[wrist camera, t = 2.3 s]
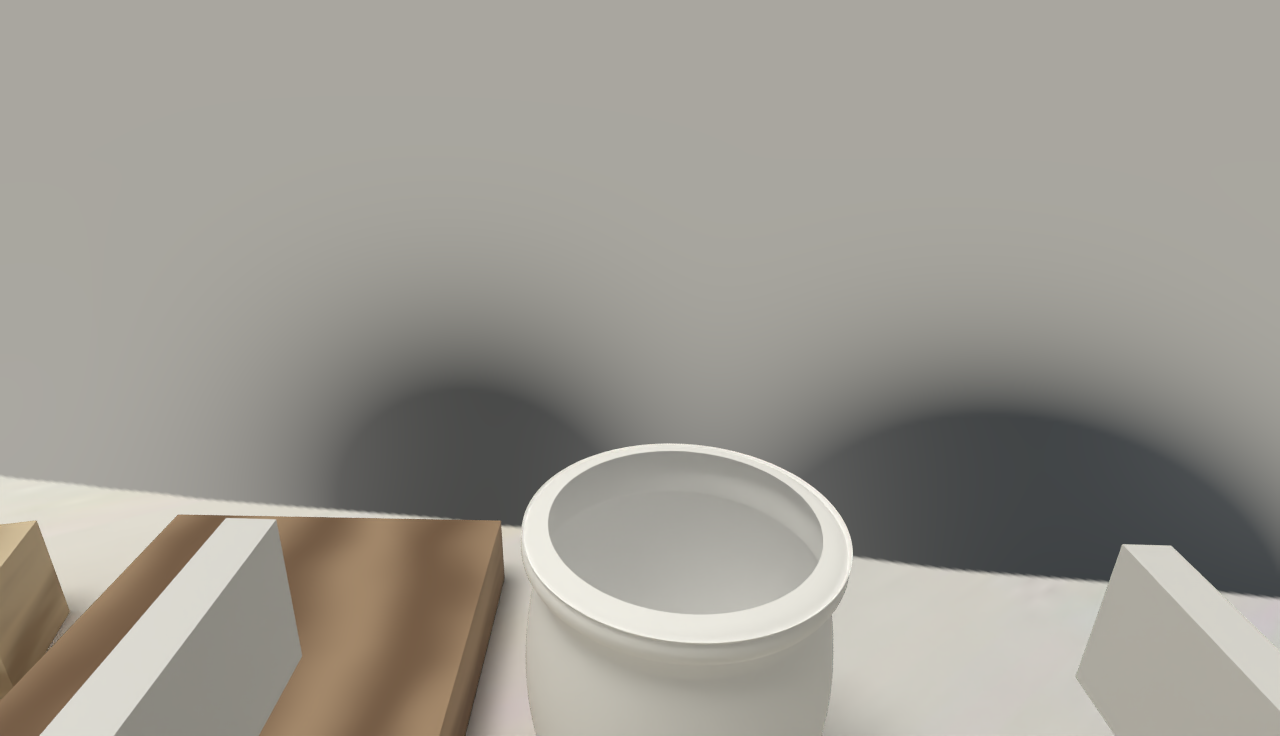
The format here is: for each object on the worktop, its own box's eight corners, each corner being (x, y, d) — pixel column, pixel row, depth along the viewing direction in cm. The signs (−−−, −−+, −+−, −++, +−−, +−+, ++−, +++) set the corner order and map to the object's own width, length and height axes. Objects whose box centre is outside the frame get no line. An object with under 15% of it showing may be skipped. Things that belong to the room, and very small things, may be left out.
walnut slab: (504, 577, 44) (500, 520, 42) (422, 904, 28) (411, 832, 26) (193, 572, 44) (178, 514, 42) (-75, 897, 27) (-117, 823, 26)
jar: (842, 806, 31) (901, 503, 25) (716, 1054, 24) (756, 705, 18) (635, 685, 37) (642, 413, 31) (479, 854, 29) (446, 536, 23)
